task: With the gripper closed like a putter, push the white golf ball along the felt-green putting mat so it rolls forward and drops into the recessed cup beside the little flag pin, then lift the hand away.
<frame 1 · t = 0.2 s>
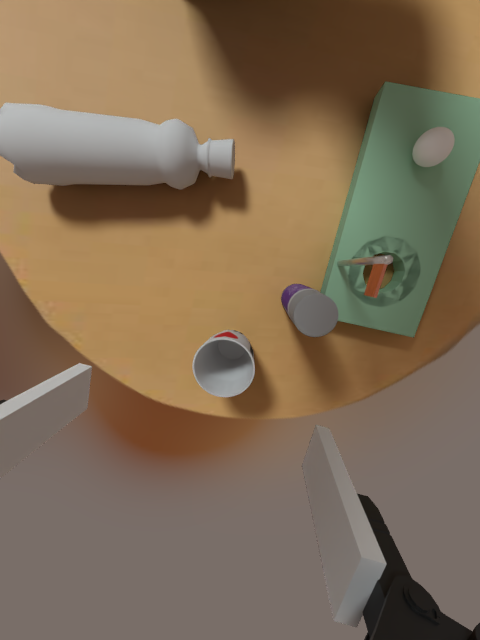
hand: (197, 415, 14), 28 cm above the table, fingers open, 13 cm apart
green: (389, 224, 37), on the table
ball: (432, 147, 30), point 5 cm above the table, touching green
flag pin: (333, 263, 39), resting on green
bottle: (137, 168, 39), on the table
container: (295, 298, 40), on the table
cup: (232, 345, 43), on the table
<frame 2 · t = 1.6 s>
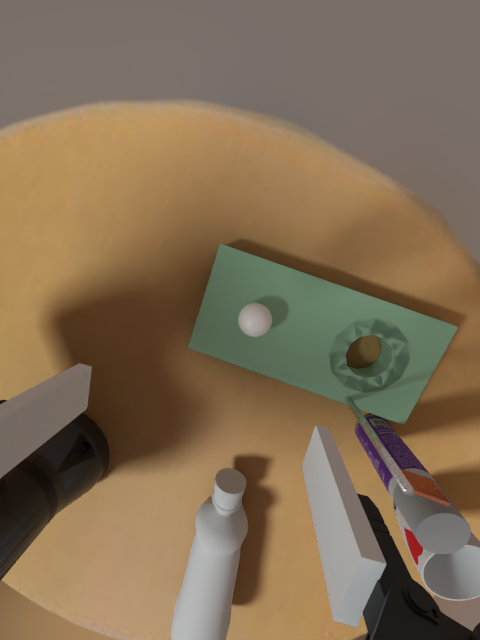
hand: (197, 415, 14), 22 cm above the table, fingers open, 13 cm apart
green: (311, 332, 35), on the table
ball: (255, 319, 30), point 5 cm above the table, touching green
flag pin: (341, 388, 36), resting on green
bottle: (220, 534, 43), on the table
container: (370, 427, 37), on the table
cup: (408, 494, 39), on the table
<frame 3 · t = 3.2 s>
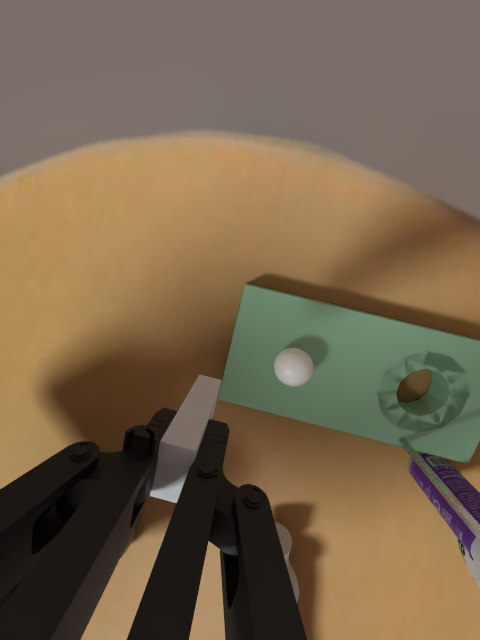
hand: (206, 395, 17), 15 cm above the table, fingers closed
green: (351, 367, 31), on the table
ball: (293, 366, 27), point 5 cm above the table, touching green
flag pin: (389, 425, 32), resting on green
bottle: (265, 589, 40), on the table
container: (425, 464, 33), on the table
cup: (474, 533, 35), on the table
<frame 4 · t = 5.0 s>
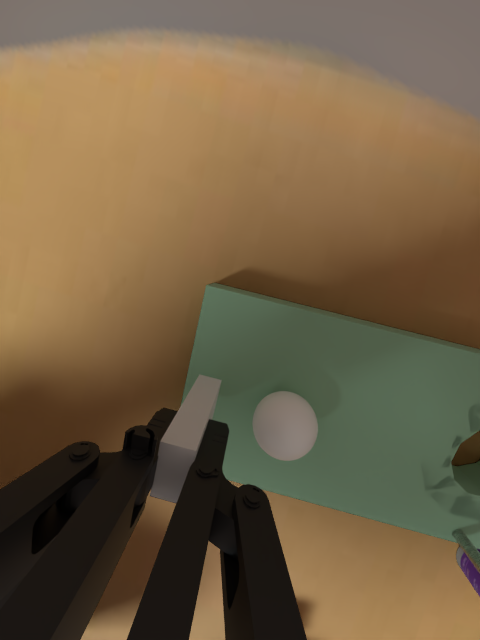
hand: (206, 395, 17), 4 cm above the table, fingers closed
green: (375, 412, 20), on the table
ball: (284, 424, 16), point 5 cm above the table, touching green
flag pin: (431, 497, 22), resting on green
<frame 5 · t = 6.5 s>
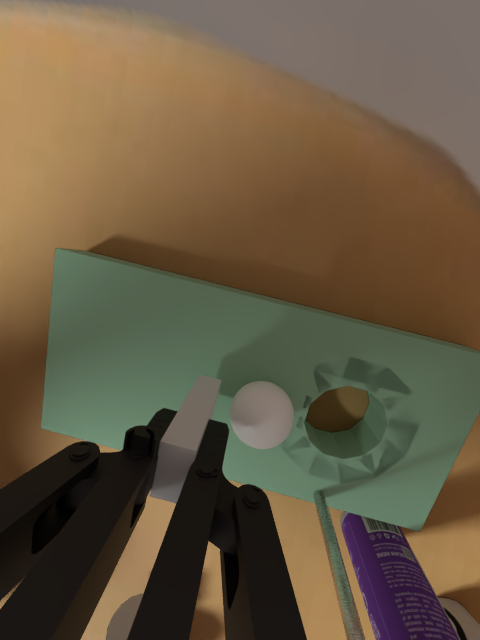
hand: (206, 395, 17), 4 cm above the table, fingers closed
green: (250, 379, 21), on the table
ball: (261, 413, 16), point 5 cm above the table, tilted 108°, touching green
flag pin: (310, 464, 22), resting on green
container: (366, 519, 23), on the table
cup: (438, 615, 24), on the table
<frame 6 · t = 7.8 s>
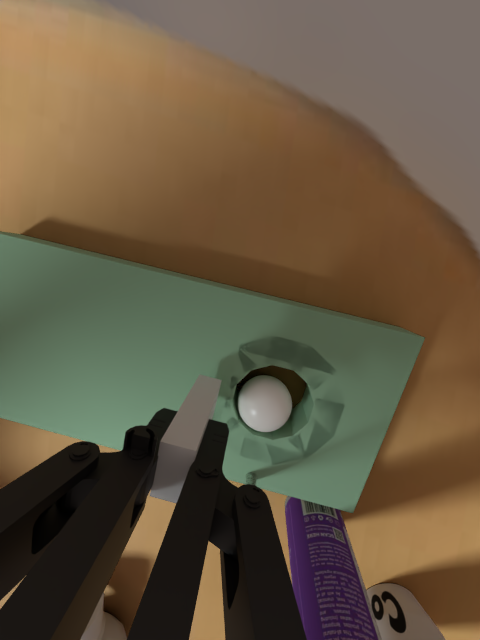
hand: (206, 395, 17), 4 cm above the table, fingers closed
green: (188, 363, 21), on the table
ball: (264, 402, 19), point 2 cm above the table, tilted 79°
container: (310, 504, 23), on the table
cup: (387, 601, 24), on the table
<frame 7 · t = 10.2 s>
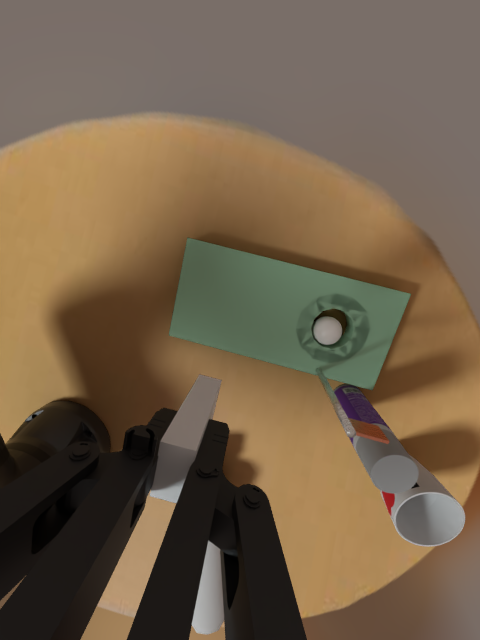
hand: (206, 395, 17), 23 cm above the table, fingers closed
green: (281, 312, 38), on the table
ball: (326, 330, 36), point 2 cm above the table, tilted 80°
flag pin: (314, 362, 39), resting on green
bottle: (214, 510, 47), on the table
container: (346, 397, 40), on the table
cup: (389, 458, 41), on the table
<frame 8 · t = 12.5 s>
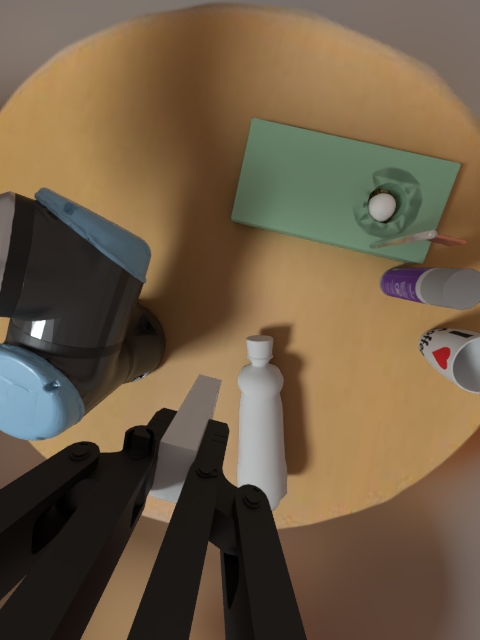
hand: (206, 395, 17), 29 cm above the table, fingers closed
green: (334, 198, 40), on the table
ball: (380, 208, 38), point 2 cm above the table, tilted 81°
flag pin: (364, 247, 41), resting on green
bottle: (263, 407, 49), on the table
container: (393, 282, 42), on the table
cup: (433, 343, 44), on the table
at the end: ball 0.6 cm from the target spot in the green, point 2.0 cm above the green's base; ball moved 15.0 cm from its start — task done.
